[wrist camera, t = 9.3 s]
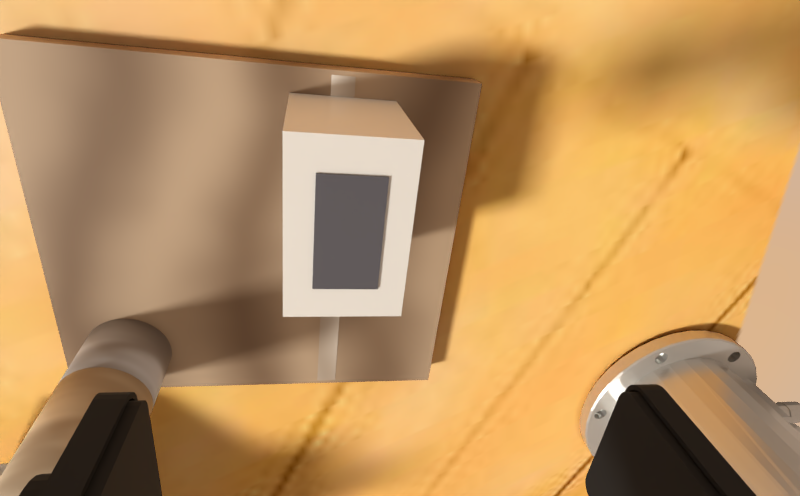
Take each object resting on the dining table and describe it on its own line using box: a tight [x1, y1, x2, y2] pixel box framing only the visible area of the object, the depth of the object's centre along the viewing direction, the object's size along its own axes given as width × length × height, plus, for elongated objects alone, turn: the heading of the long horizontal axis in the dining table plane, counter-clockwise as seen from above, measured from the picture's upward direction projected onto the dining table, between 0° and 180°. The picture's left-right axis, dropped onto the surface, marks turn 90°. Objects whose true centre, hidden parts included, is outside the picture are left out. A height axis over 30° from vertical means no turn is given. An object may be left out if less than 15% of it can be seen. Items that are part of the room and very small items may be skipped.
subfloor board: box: [0, 34, 482, 387], centre depth 24 cm, size 19×17×1 cm
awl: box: [0, 319, 172, 496], centre depth 21 cm, size 4×4×9 cm
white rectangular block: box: [283, 93, 424, 317], centre depth 20 cm, size 4×7×6 cm, turn 174°
